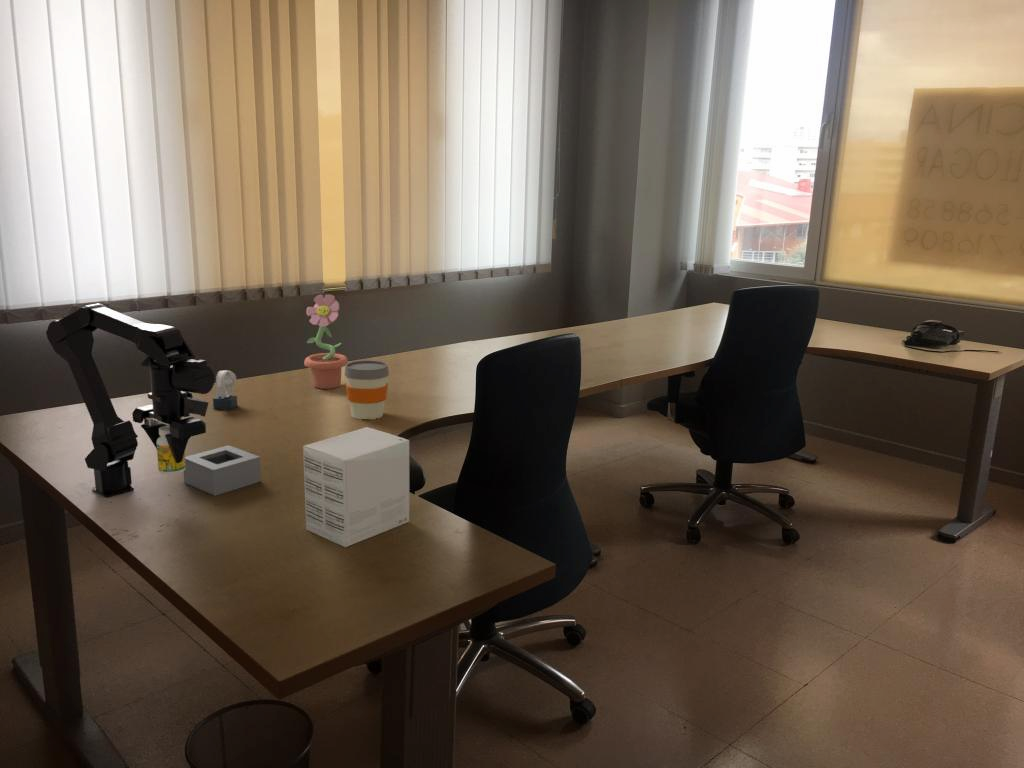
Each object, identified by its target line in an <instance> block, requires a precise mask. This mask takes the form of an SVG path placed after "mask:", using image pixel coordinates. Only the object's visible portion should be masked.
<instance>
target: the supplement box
mask: <svg viewBox="0 0 1024 768" xmlns="http://www.w3.org/2000/svg"><path fill="white" fill-rule="evenodd" d="M302 451H303V453H302V455H303V479H304V480H303V481H304V502H305V503H304V505H305V506H304V507H305V510H304V511H305V529H306V530H307V531H308V532H311V533H313V534H315V535H317V536H320V537H322V538H324V539H326V540H328V541H330V542H333V543H335V544H337V545H339V546H342V547H343V548H347V547H350V546H351V545H354V544H357V543H359V542H362V541H364V540H367V539H369V538H372V537H375V536H377V535H379V534H382V533H385V532H387V531H390V530H392V529H395V528H397V527H400V526H403V525H404V524H407V523H410V439H406V438H404V437H400V436H398V435H394V434H392V433H388V432H385V431H381V430H379V429H376V428H372V427H371V428H370V427H368V426H366V427H362V428H359V429H356V430H353V431H349V432H345V433H342V434H339V435H336V436H333V437H330V438H325V439H322V440H320V441H315V442H312V443H309V444H305V445H303V446H302Z"/></svg>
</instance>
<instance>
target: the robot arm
mask: <svg viewBox="0 0 1024 768" xmlns="http://www.w3.org/2000/svg"><path fill="white" fill-rule="evenodd" d="M97 330H101V331H103V332H106V333H108V334H111V335H113V336H115V337H119V338H121V339H124V340H126V341H128V342H131V343H132V344H134V345H135V347H136V349H137V350H138V352H140V353H142V354H144V355H146V358H145V359H144V360H142V361H141V362H140V365H141V366H142V367H149V375H150V377H149V378H150V386H151V387H150V388H151V389H150V391H151V392H148V393H147V398H148V399H150V400H152V401H151V402H152V403H151V404H149V405H143V406H138V407H135V409H134V410H133V411H132V414H131V415H132V421H133V422H135V423H137V424H141V425H140V427H141V428H142V429H143V431H144V432H145V433H146V435H147V437H148V438H149V440H150V441H151V442H152V444H153V446H154V447H155V449H156V450H157V444H156V442H157V439H158V438H159V437H161V436H160V435H159V428H160V427H162V426H168V425H169V429H170V434H166V435H165V437H166V439H167V442H168V444H169V447H170V449H171V452H172V454H173V457H174V459H175V461H176V463H180V462H182V459H183V456H184V452H185V451H186V448H187V445H188V442H189V440H190V439H191V438H192V437H195V436H198V435H202V434H206V433H207V423H206V422H204V421H203V420H202V419H199V418H196V417H194V416H191V415H198V416H201V417H206V415H207V410H208V408H209V407H208V406H209V401H206V400H202V399H200V398H197V397H193V396H194V395H193V393H195V394H200V395H207V394H209V393H210V392H211V391H212V390H213V388H214V386H215V383H216V376H215V374H214V372H213V370H212V368H211V367H210V366H208V364H207V360H206V359H199V360H197V359H196V356H195V354H194V353H193V352H192V349H191V348H190V347H189V345H188V344H187V342H186V341H185V338H183V335H182V334H181V331H180V329H179V328H177V327H175V326H171V325H166V324H159V323H156V324H155V323H146V322H144V321H141V320H138V319H136V318H133V317H131V316H128V315H126V314H125V313H124V314H123V313H121V312H119V311H116V310H113V309H112V308H108V307H107V306H106V305H105V304H102V303H93V304H88V305H83V306H82V307H79V309H77V310H75V311H74V312H72V313H70V314H68V315H66V316H64V317H63V318H59V320H58V319H57V320H56V319H55V320H53V321H51V322H49V324H48V325H47V329H46V331H45V334H46V338H47V340H48V342H49V344H50V346H51V347H52V349H53V351H54V352H55V353H56V355H58V356H59V357H60V358H62V359H63V360H64V361H66V362H67V364H68V366H69V369H70V370H71V373H72V376H73V377H74V380H75V383H76V385H77V389H78V390H79V392H80V395H81V397H82V400H83V402H84V405H85V406H86V409H87V412H88V414H89V416H90V419H91V421H92V424H93V427H92V433H91V443H92V447H93V449H92V450H91V451H90V452H89V453H88V454H87V455H86V456H85V458H84V461H85V465H86V466H87V468H88V469H91V470H93V475H94V476H93V477H94V483H95V484H94V485H95V486H93V487H92V488H91V490H92V491H93V492H94V493H95V492H96V494H98V495H101V496H103V497H105V498H109V497H112V496H116V495H119V494H122V493H126V492H129V491H133V490H134V489H135V486H133V485H132V483H133V481H132V470H131V467H130V466H129V462H128V461H132V460H134V459H135V458H134V457H135V453H136V450H137V447H138V446H139V444H138V443H139V442H138V437H139V436H138V435H137V433H136V432H135V430H134V425H133V423H132V422H131V420H126V421H125V420H123V419H122V418H121V417H119V415H117V412H116V409H115V407H114V405H113V402H112V400H111V398H110V395H109V393H108V390H107V388H106V385H105V383H104V380H103V377H102V376H101V373H100V370H99V369H98V365H97V362H96V361H95V359H94V356H93V351H94V344H95V338H94V335H93V333H94V332H95V331H97ZM190 414H191V415H190ZM185 453H186V452H185Z"/></svg>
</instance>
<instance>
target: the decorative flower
mask: <svg viewBox="0 0 1024 768" xmlns="http://www.w3.org/2000/svg"><path fill="white" fill-rule="evenodd" d="M335 298H336V297H335V295H333V294H329V293H328V294H327V293H326V294H325V295H323V294H318V295H316V296H315V297H314V298H313V302H314V303H315V304H314V305H313V306H307V308H306V311H305V313H306V315H307V317H311V318H310V319H309V323H310V324H311V325H313V326H318V327H319V328H318V331H317V334H316V337H313V336H312V337H310V338H309V339H307V341H306V343H307V344H312V343H314V342H315V343H316V346H317V347H319V348H320V349H322V350H326V351H329V352H326V353H325V352H321V353H315V354H311V355H309V356H307V357H306V358H305V359H304V366H305V367H307V368H310V369H311V376H312V383H313V386H314V387H315V388H317V389H319V388H320V390H331V389H336V388H338V387H340V385H341V383H342V368H343V367H344V368H345V365H346V364H347V363H349V360H348V357H347V356H346V355H344V354H341V353H336V348H338V347H340V345H341V344H342V342H338V343H337V344H335V345H332V344H328V343H324V342H322V338H323V335H324V333H325V334H326V335H327V336H329V337H330V338H332V337H333V336H332V333H331V331H330V329H329V328H328V327H327V326H329V325H330V324H332V323H334V322H335V321H337V319H338V317H339V311H340V304H339V301H337V300H336V299H335Z"/></svg>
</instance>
